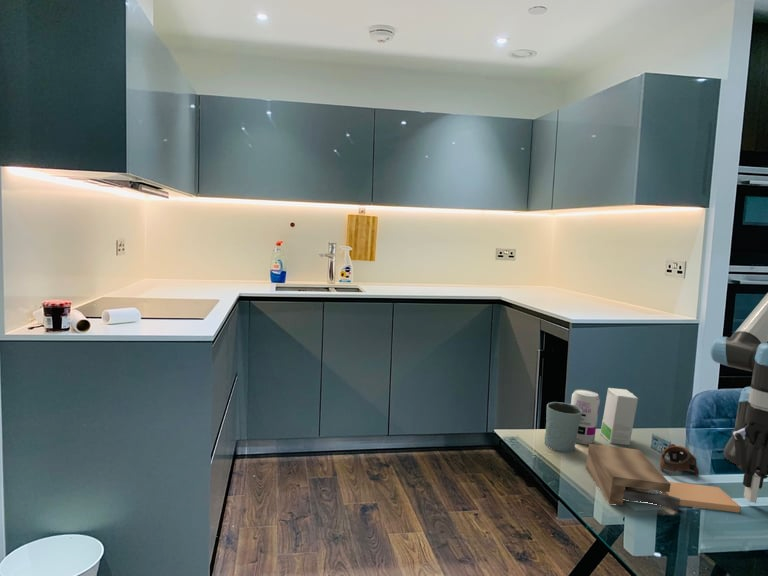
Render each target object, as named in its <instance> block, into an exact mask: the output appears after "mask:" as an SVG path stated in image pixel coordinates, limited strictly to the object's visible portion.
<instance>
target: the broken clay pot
mask: <svg viewBox="0 0 768 576" xmlns="http://www.w3.org/2000/svg"><path fill="white" fill-rule="evenodd" d="M666 454H668V457H669V459H667V458H666ZM660 455H661V458H660V462H659V467H660V468H659V469H660V470H661V471H665V470H667V471H670V472H674V473H676V472H683V471H687V472H689V473H690V472H691V471H692V472H694V474H695V475H696V477H699V474H700V473H699V468H698V465H697V464H698V463H697V459H696V458H697V457H695V456H694V455H693V453H691V451H690V450H689V449H687V448H686V447H684V446H681V445H676V444H674V443H672V444H669V445H668V446H667V447H666V448H664V449H663V450H662V451H661V454H660Z"/></svg>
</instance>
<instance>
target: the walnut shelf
mask: <svg viewBox="0 0 768 576" xmlns="http://www.w3.org/2000/svg"><path fill="white" fill-rule="evenodd" d="M587 451H588V452H587V457H586V458H587V459H586V465H585V470H586V471H587V472H588V474H589V476H590V478H591V479H592V478H593V479H592V480H593V482H594V481H595V482H596V484H597V485H598V487H599V488H600V490H601V491H602V493H603V495H604V496H605V498H606V499H605V498H604V499H605V501H606V500H607V501H608V503H609V504H616V505H622V506H623V503H624V501H623V499H625V500H629V501H638V502H640V501H641V502H648V503H653V504H657V505H661V506H660V507H666V508H668V509H673V510H677V511H679V509H680V506H681V505H680V498H676V497H672V496H669V495H664V494H662V493H655V492H648V491H641V490H639V491H638V490H631V489H626V487H627V488H628V487H629V488H636V489H643V490H650V491H657V492H660V491H665V492H669V491H670V485H671V484H670V483H669V482H670V481H669V480H668V479H667V478H666V477H665V476H664V475H663V474H662V473H661V472H660V471H659V470H658V468H657V467H656V466H655V464H653V463H652V462H651V461H650V460H649V459H648V458H647V457H646V456H645V454H643V453H642V451H641V450H640V449H636V448H629V447H628V448H627V447H620V446H619V447H618V446H611V445H603V444H595V443H591V444H588V450H587ZM668 481H669V482H668ZM595 482H594V483H595ZM596 484H595V485H596ZM597 485H596V486H597ZM598 487H597V488H598ZM599 488H598V489H599ZM600 490H599V491H600ZM601 491H600V492H601ZM602 493H601V494H602ZM603 495H602V496H603ZM604 496H603V497H604ZM607 501H606V502H607ZM608 503H607V504H608ZM609 504H608V505H609ZM657 505H656V506H657Z"/></svg>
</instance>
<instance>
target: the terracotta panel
mask: <svg viewBox="0 0 768 576" xmlns="http://www.w3.org/2000/svg"><path fill="white" fill-rule="evenodd" d="M667 481H668V482H669V483H670V484H671V485H670V491H669V492H665V491H661V492H662V493H661V492H660V493H661V494H664V495H669V496H672V497H676V498H680V505H679V506H683V507H691V508H699V509H708V510H716V511H723V512H732V513H733V512H734V513H738V514H739V513H740V512H741V507H742V506H741V505H740V504H739V503H737V502H736V501H735V500H734V499H733V498H732V497H730V496H729V495H728V494H727V493H726V492H725V491H723V489H721V488H720V487H719V486H713V485H712V486H709V485H704V484H703V485H702V484H695V483H694V484H693V483H687V482H686V483H685V482H678V481H669V480H667Z"/></svg>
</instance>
